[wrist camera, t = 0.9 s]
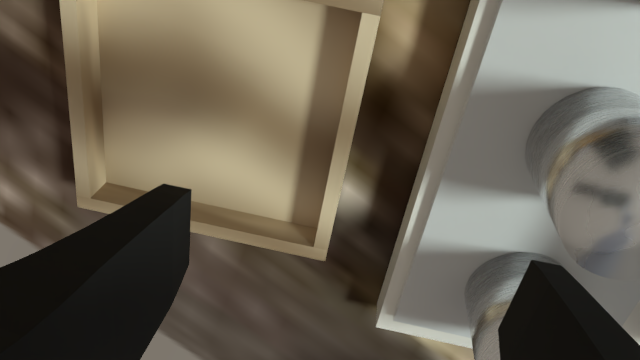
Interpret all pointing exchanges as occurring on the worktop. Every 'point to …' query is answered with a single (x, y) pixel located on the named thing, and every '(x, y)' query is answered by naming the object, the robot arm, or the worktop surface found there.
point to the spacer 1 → (494, 298)
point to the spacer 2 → (592, 177)
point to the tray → (220, 109)
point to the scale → (502, 157)
